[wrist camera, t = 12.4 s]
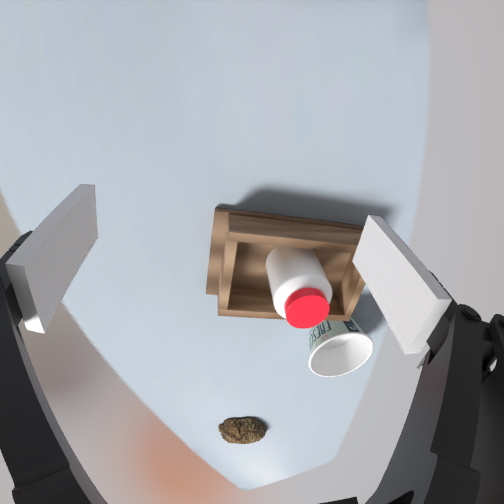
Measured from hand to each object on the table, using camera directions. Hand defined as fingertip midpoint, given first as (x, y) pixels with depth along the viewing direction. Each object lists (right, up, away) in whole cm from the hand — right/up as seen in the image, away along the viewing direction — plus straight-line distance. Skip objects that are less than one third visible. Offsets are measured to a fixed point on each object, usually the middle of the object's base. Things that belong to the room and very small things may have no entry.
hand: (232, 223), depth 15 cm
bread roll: (-2, -47, +61) cm, 77 cm away
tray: (+7, -2, +34) cm, 34 cm away
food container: (+16, -16, +43) cm, 49 cm away
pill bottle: (+7, -3, +33) cm, 34 cm away
